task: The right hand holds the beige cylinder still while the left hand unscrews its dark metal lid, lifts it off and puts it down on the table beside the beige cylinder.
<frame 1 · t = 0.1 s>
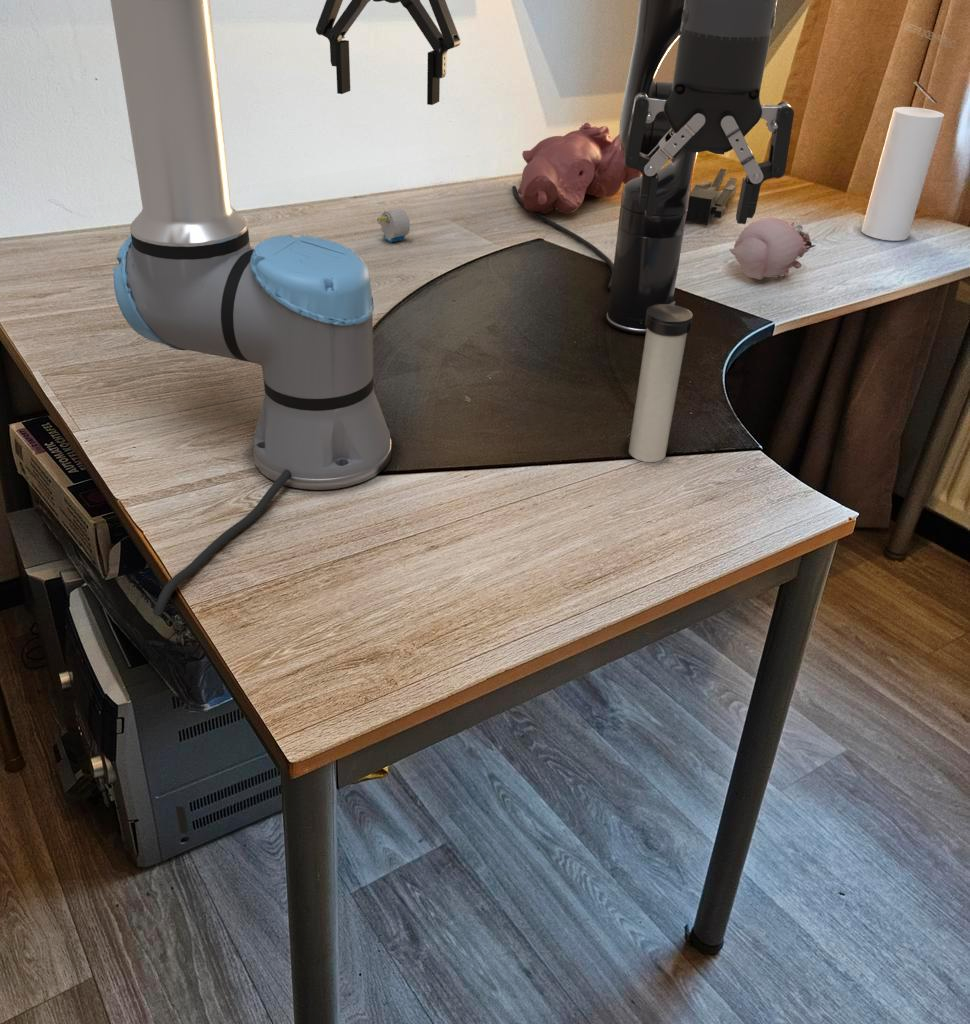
left hand: (388, 97, 135), 28 cm above the table, tool pointing down, fingers open, 13 cm apart
right hand: (694, 218, 90), 29 cm above the table, tool pointing down, fingers open, 8 cm apart
toy 2: (763, 275, 163), on the table
electric motor: (391, 241, 169), on the table
beige cylinder: (647, 452, 112), on the table
toy: (710, 205, 196), on the table
tall white tube: (880, 233, 185), on the table
lid: (669, 315, 102), point 17 cm above the table, screwed on, not yet turned
ceramic shard: (227, 317, 138), on the table
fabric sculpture: (573, 204, 192), on the table
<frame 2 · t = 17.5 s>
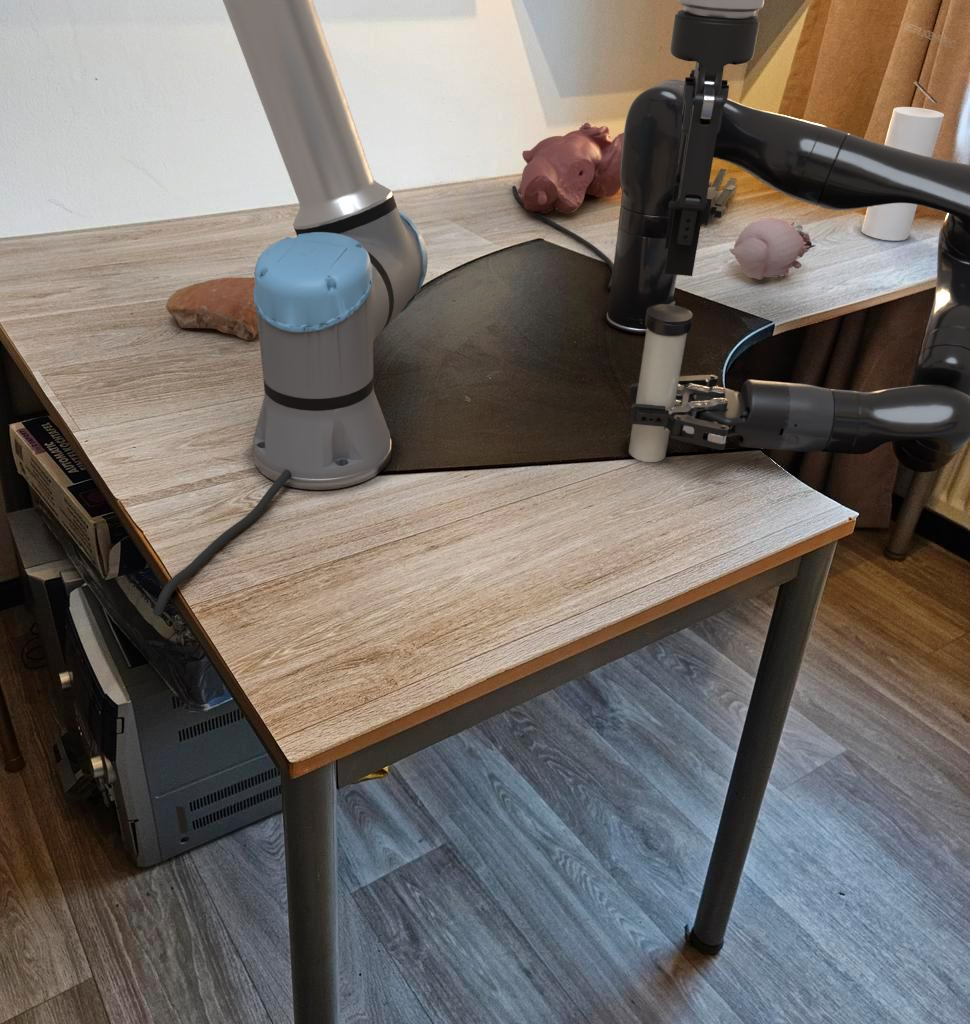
left hand: (678, 260, 99), 23 cm above the table, tool pointing down, fingers open, 7 cm apart
right hand: (630, 403, 108), 6 cm above the table, tool horizontal, fingers closed on beige cylinder, 4 cm apart
beige cylinder: (647, 452, 112), on the table, touching right hand
everything else where it was.
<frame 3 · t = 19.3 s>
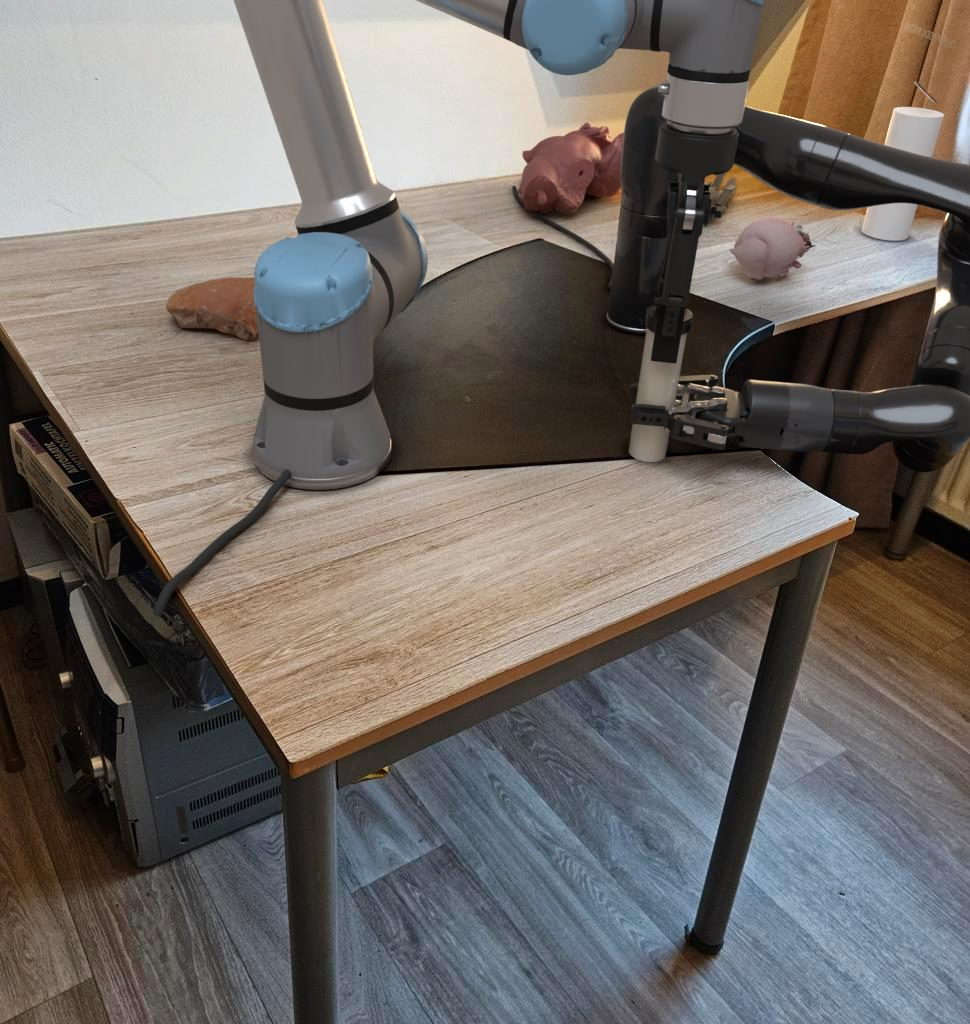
left hand: (663, 349, 104), 13 cm above the table, tool pointing down, fingers closed on lid, 5 cm apart
right hand: (630, 403, 108), 6 cm above the table, tool horizontal, fingers closed on beige cylinder, 4 cm apart
beige cylinder: (647, 452, 112), on the table, touching right hand
lid: (669, 315, 102), point 17 cm above the table, screwed on, not yet turned, touching left hand
everything else where it was.
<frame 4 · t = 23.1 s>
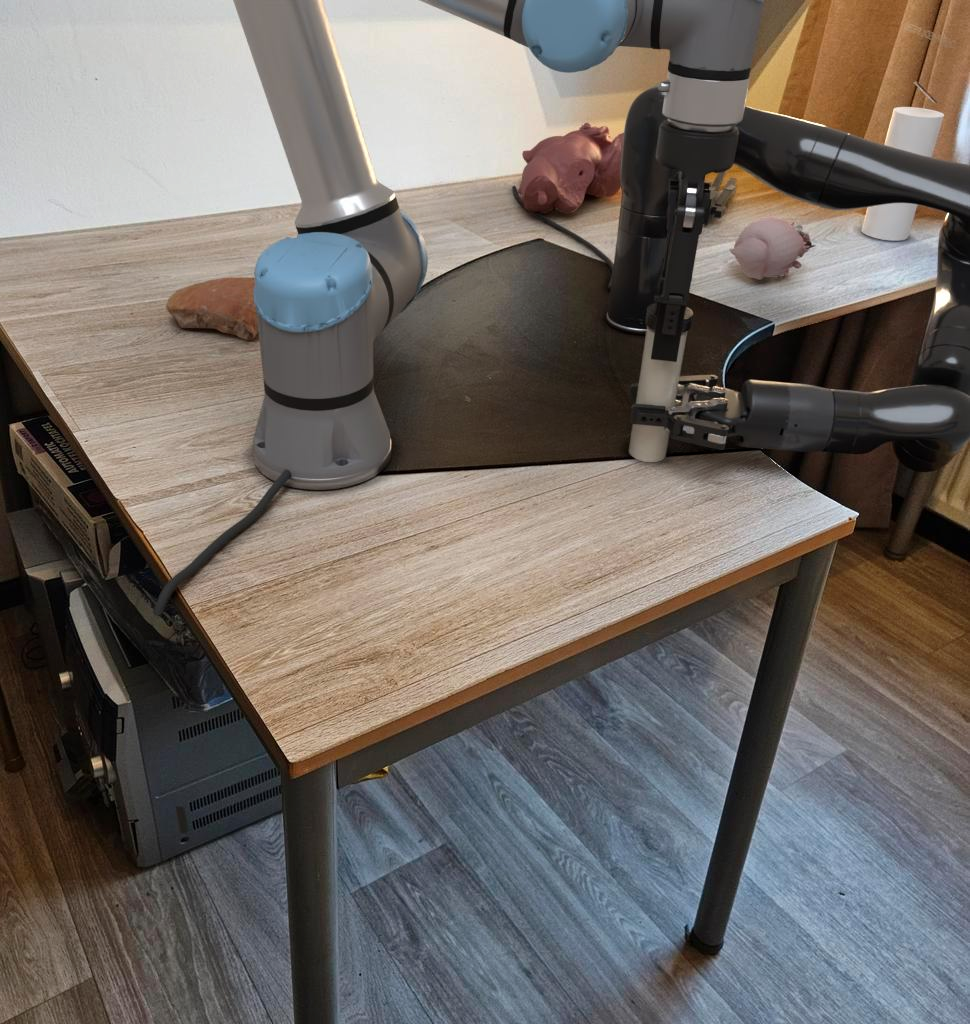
left hand: (663, 348, 104), 13 cm above the table, tool pointing down, fingers closed on lid, 5 cm apart
right hand: (630, 403, 108), 6 cm above the table, tool horizontal, fingers closed on beige cylinder, 4 cm apart
beige cylinder: (647, 452, 112), on the table, touching right hand
lid: (669, 314, 102), point 17 cm above the table, turned 128° so far, risen 0.2 cm, still on its thread, touching left hand
everything else where it was.
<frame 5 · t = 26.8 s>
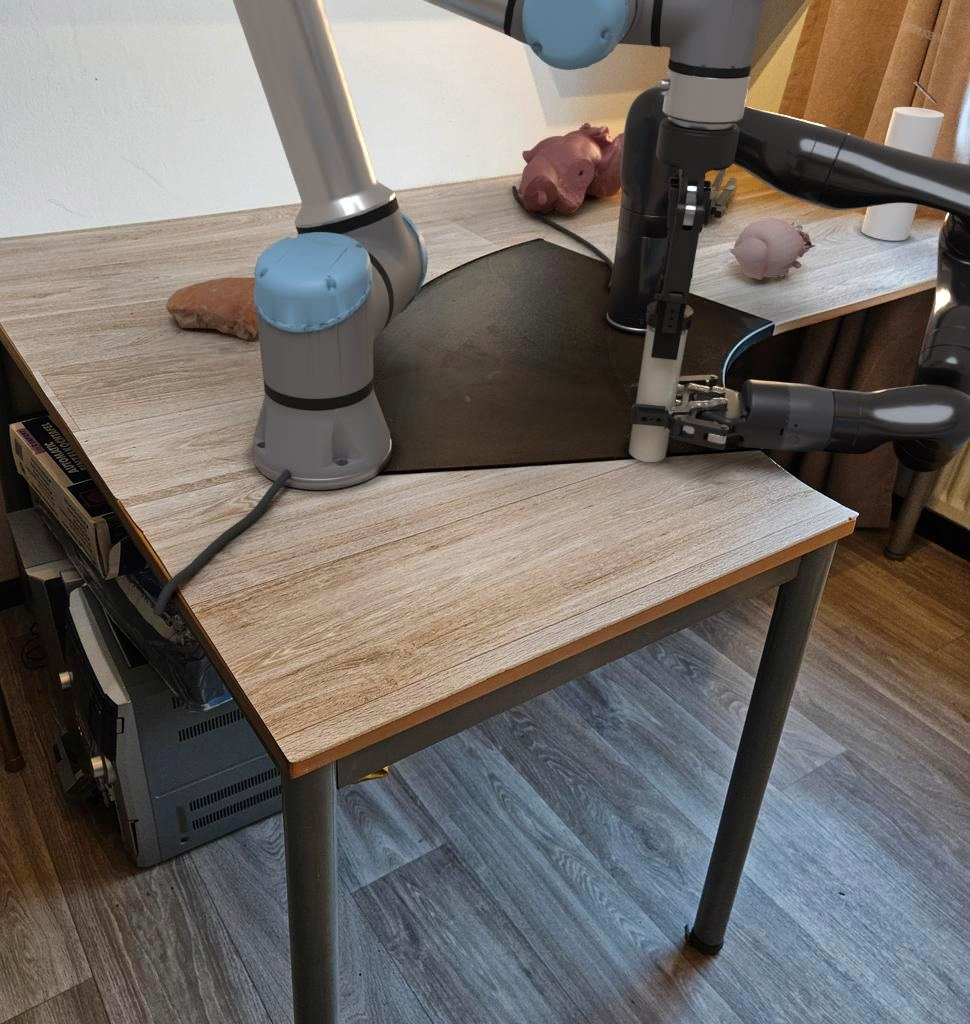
left hand: (664, 346, 104), 13 cm above the table, tool pointing down, fingers closed on lid, 5 cm apart
right hand: (630, 403, 108), 6 cm above the table, tool horizontal, fingers closed on beige cylinder, 4 cm apart
beige cylinder: (647, 452, 112), on the table, touching right hand
lid: (669, 312, 102), point 17 cm above the table, turned 255° so far, risen 0.4 cm, still on its thread, touching left hand
everything else where it was.
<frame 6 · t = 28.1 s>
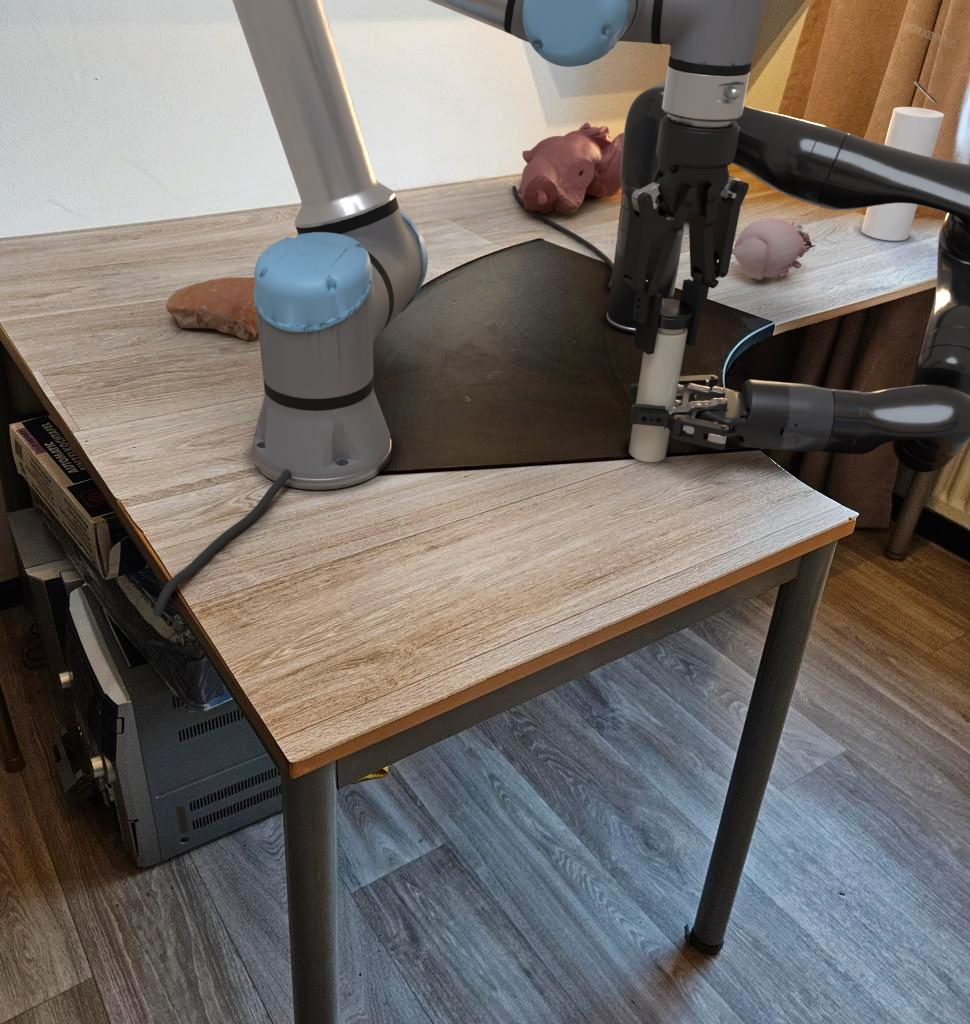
left hand: (664, 344, 104), 14 cm above the table, tool pointing down, fingers closed on lid, 5 cm apart
right hand: (630, 403, 108), 6 cm above the table, tool horizontal, fingers closed on beige cylinder, 4 cm apart
beige cylinder: (647, 452, 112), on the table, touching right hand
lid: (669, 310, 102), point 18 cm above the table, off its thread, touching left hand
everything else where it was.
when the left hand's fingers open (0 cm above the table, at t = 34.0 s): lid drops 3 cm, point 1 cm above the table.
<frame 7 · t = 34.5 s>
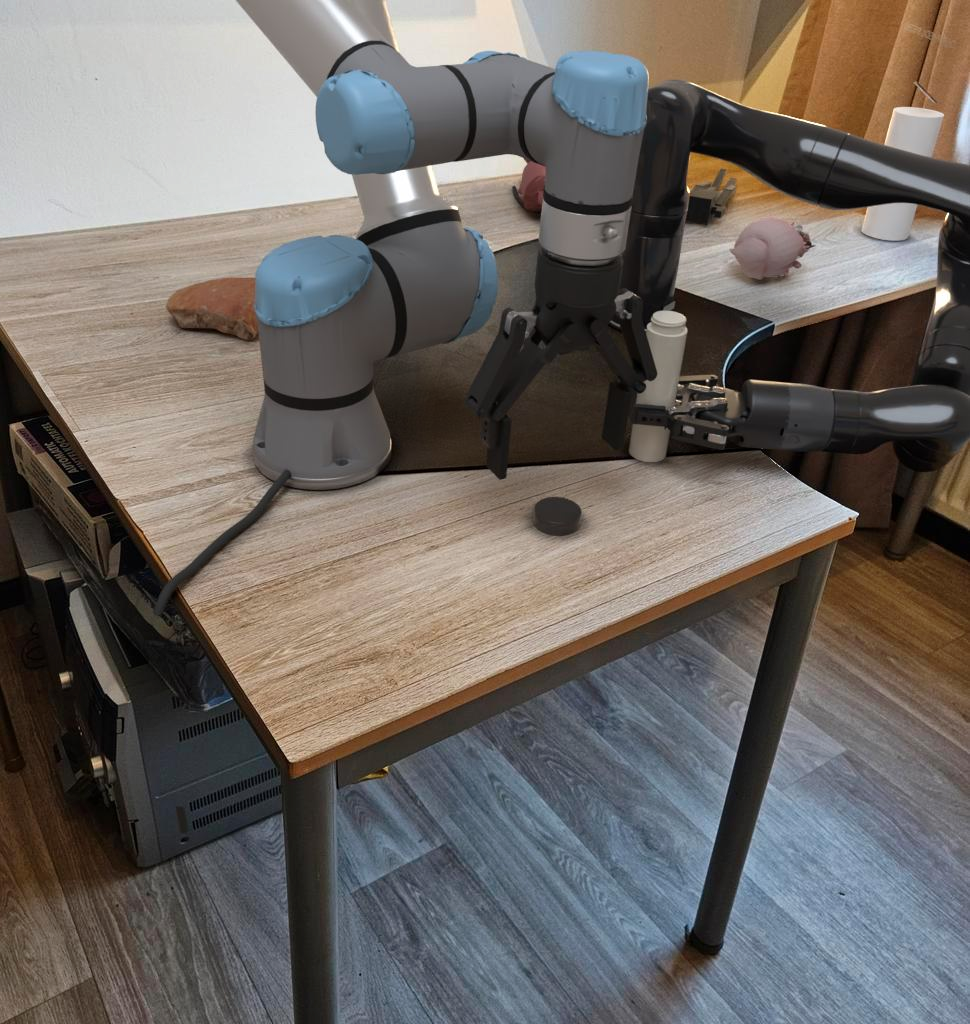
left hand: (555, 457, 96), 7 cm above the table, tool pointing down, fingers open, 13 cm apart
right hand: (630, 403, 108), 6 cm above the table, tool horizontal, fingers closed on beige cylinder, 4 cm apart
beige cylinder: (647, 452, 112), on the table, touching right hand
lid: (557, 512, 98), point 1 cm above the table, off its thread
everything else where it was.
when the right hand's fingers open (6 cm above the table, at t = 34.6 s): beige cylinder stays where it is, on the table.
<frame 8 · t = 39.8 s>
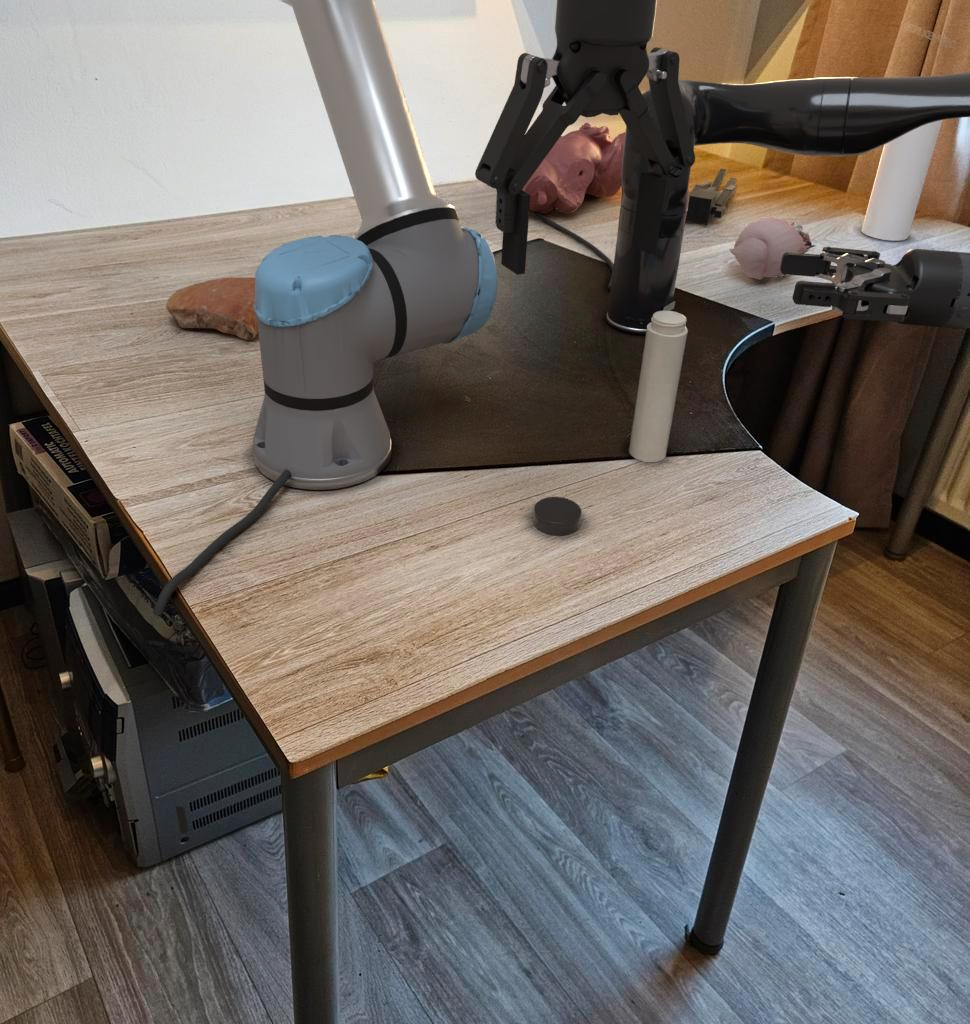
left hand: (580, 259, 84), 28 cm above the table, tool pointing down, fingers open, 13 cm apart
right hand: (787, 277, 99), 22 cm above the table, tool horizontal, fingers open, 8 cm apart
beige cylinder: (647, 452, 112), on the table
everything else where it was.
at the end: lid came off its thread; lid point 1.2 cm above the table; the left hand is holding nothing; the right hand is holding nothing; beige cylinder tilted 0°; beige cylinder moved 0.0 cm from its start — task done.
